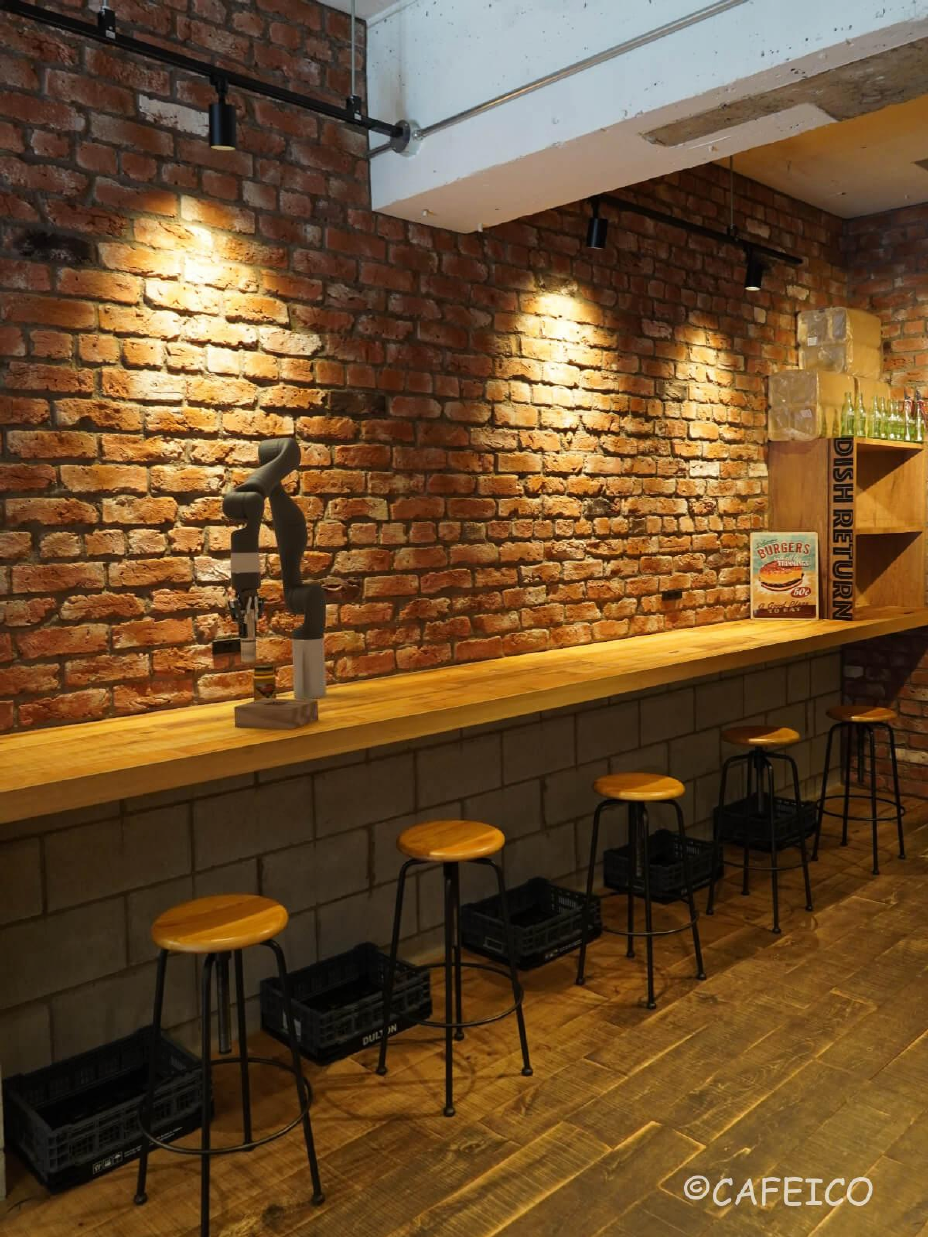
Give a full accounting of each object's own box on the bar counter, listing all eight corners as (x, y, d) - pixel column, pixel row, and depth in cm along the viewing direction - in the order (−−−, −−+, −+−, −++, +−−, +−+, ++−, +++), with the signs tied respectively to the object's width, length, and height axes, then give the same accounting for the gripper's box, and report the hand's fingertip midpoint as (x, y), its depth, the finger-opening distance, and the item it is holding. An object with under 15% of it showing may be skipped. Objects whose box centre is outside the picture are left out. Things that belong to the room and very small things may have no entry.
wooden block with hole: (264, 716, 275) (263, 698, 274) (318, 719, 269) (317, 700, 269) (235, 726, 262) (234, 707, 261) (291, 729, 256) (290, 709, 256)
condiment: (266, 712, 282) (264, 668, 281) (242, 710, 286) (240, 666, 285) (283, 707, 289) (282, 664, 288) (260, 705, 293) (258, 663, 292)
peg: (246, 660, 272) (244, 610, 271) (258, 660, 270) (257, 610, 269) (238, 661, 268) (236, 611, 267) (250, 662, 267) (248, 611, 266)
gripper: (249, 569, 276) (251, 634, 277) (217, 571, 262) (219, 639, 264) (273, 569, 273) (275, 635, 274) (242, 571, 260) (244, 640, 261)
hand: (247, 637), depth 269 cm, fingers closed on peg, 3 cm apart
